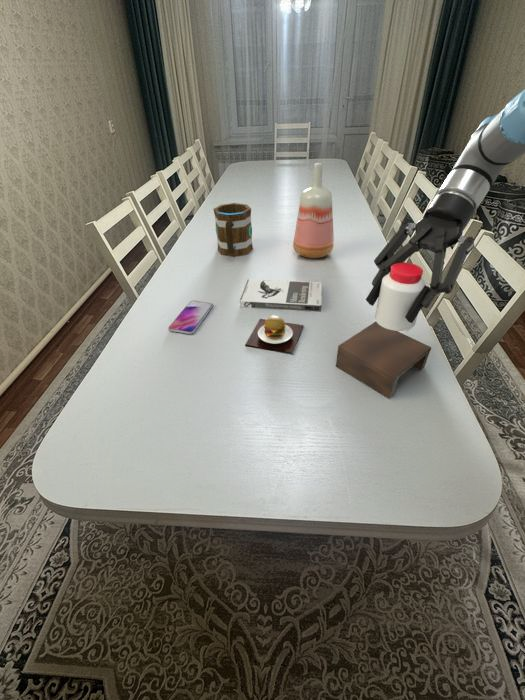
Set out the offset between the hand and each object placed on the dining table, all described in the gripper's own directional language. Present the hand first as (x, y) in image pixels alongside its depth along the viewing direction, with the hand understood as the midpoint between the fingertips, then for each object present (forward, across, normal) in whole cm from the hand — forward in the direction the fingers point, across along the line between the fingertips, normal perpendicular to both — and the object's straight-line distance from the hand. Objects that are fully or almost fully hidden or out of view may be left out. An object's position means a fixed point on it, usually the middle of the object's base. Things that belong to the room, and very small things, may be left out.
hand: (388, 311), depth 67 cm
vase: (-16, +54, -41) cm, 70 cm away
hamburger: (+16, +26, -9) cm, 32 cm away
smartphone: (+23, +48, -1) cm, 54 cm away
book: (+5, +39, -20) cm, 44 cm away
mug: (-2, +75, -27) cm, 80 cm away
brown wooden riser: (+9, +1, -15) cm, 18 cm away
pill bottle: (0, 0, -5) cm, 5 cm away
